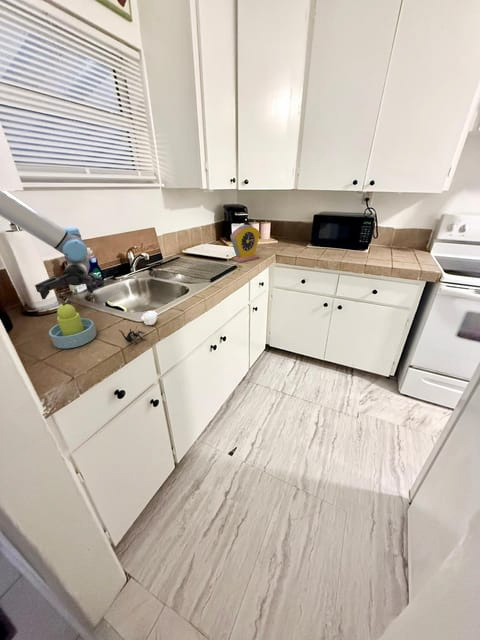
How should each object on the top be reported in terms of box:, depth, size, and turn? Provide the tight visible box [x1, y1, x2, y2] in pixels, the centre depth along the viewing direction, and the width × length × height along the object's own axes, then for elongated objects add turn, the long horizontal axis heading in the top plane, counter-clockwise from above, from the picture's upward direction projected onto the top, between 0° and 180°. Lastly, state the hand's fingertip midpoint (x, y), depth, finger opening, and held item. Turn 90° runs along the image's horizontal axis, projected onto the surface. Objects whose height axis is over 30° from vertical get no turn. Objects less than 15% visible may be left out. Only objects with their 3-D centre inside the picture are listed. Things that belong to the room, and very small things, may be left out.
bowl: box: [48, 317, 97, 349], centre depth 84 cm, size 12×12×4 cm
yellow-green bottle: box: [56, 300, 85, 336], centre depth 81 cm, size 6×6×13 cm
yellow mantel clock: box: [229, 224, 261, 264], centre depth 167 cm, size 22×9×22 cm, turn 131°
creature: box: [118, 326, 146, 344], centre depth 83 cm, size 8×5×8 cm
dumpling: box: [140, 310, 158, 326], centre depth 94 cm, size 7×5×4 cm
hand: (66, 292), depth 84 cm, fingers open, 13 cm apart
